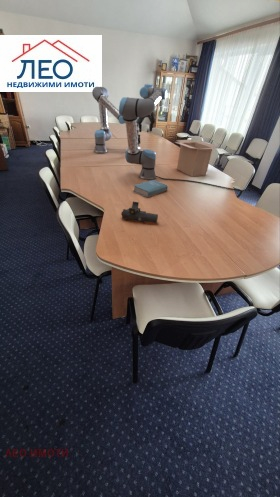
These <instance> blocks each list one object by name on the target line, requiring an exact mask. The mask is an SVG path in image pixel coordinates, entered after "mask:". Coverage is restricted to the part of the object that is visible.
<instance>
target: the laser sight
mask: <svg viewBox="0 0 280 497" xmlns="http://www.w3.org/2000/svg"><path fill="white" fill-rule="evenodd" d="M139 204H140V203H139V201H132V204H131V207H128V208H127V209H126V208H124V209H122V211H121V214H120V215H121V218H122V219H125V220H126V221H131V222H140V223H151V224H158V218H159V214H157V213H150V212H147V211H144V210H141V208H139Z"/></svg>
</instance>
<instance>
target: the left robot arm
mask: <svg viewBox="0 0 280 497" xmlns="http://www.w3.org/2000/svg"><path fill="white" fill-rule="evenodd" d="M91 93H92V94H91V95H92V98H93V99H94V100H95V102H97V103H98V110H99V111H98V112H99V121H100V128H99V129H97V130H95V131H94V141H95V142H94V144H95V145H94V149H93V153H95V154H107V153H108V150H107V147H106V142H107V141H109V140H110V139H111V138H112V132H111V129H110V127H109V120H108V112H109V113H110V114H111V115H112V116H114V117H115V119H117V121H118V124H120V125H126V124H125V121H124V120H123V116H121V115H120V114H119V108H117V107H116V106H115V105H114V104H113V103H112V102H111V101H110V100H109V99H108V97H109V91H108V89H107V88H106V87H104V86H95V87H93V88H92V90H91ZM138 119H139V117H138ZM138 119H137V120H136V124H137V137H138V145H141V134H139V133H140V132H139V124H138V123H137V121H138Z"/></svg>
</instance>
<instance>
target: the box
mask: <svg viewBox="0 0 280 497" xmlns="http://www.w3.org/2000/svg"><path fill="white" fill-rule="evenodd" d="M174 143H175V144H178V145H179V151H178V152H179V153H178V158H177V165H176V169H177V170H178V171H179V172H182V173H184V174H186V175H188V176H190V177H199V176H206V175H207V172H208V168H209V164H210V160H211V156H212V151H213V149H218V148H219V145H215V144H212V143H209V142H207V141H203V140H201V141H193V140H191V139H176V140H175V141H174Z"/></svg>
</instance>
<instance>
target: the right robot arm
mask: <svg viewBox="0 0 280 497" xmlns="http://www.w3.org/2000/svg"><path fill="white" fill-rule="evenodd" d="M167 94H168V90H167V88H164V87H154V85H153V84H148V83H147V84H144V86H142V87H140V89H139V96H140V97H141V98H137V97H129V96H127V97H126V96H125V97H121V99H120V100H119V105H118V110H119V114H120V115H121V116H123V120H124V121H125V124H124V125H125V130H126V131H125V132H126V138H127V148H126V150H125V153H124V154H125V156H124V157H125V161H126V162H127V163H128V164H132V165H139V166H141V169H140V172H139V178H140V179H142V180H146V181H150V180H156V178H158V179H161V180H165V181H180V182H190V183H195V184H196V183H198V184H203V185H208V186H212V187H216V188H222V189H226V190H232V191H237V192H246V191H248V192H251V189H250V188H245V189H238V188H237V189H236V188H232V187H227V186H222V185H217V184H212V183H207V182H202V181H197V180H189V179H179V178H165V177H161V176H157V174H156V169H155V167H156V159H157V158H156V157H157V153H156V152H155V151H154V150H152V149H148V148H145V149H142V150H141V147H139V146H138V137H137V124H136V120H137V119H138V117H139V119H138V121H137V123H138V124H139V129H138V130H139V133H142V131H143V130H142V128H143V122H144V120H145V119H146V118H148V120H149V132H153V127H154V124H155V123H156V121H155V117H154V112H155V109H156V107H157V105H158V104H159V102H161V100H162V101H163V100H166V99H167V96H168V95H167Z"/></svg>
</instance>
